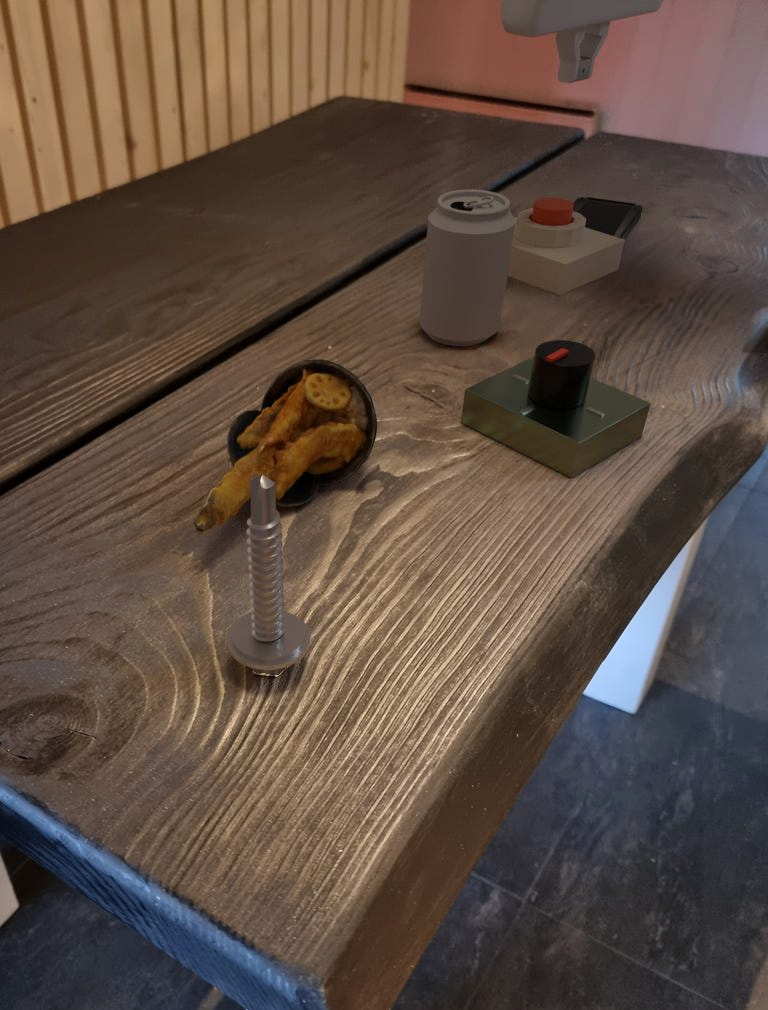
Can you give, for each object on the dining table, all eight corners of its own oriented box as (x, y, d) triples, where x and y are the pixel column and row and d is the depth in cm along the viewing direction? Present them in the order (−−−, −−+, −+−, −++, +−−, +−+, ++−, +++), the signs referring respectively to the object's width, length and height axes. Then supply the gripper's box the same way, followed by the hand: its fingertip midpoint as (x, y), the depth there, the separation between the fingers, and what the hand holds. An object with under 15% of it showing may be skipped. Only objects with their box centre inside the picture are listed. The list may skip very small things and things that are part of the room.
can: (411, 318, 90) (422, 186, 82) (487, 314, 90) (505, 183, 82) (426, 352, 84) (439, 214, 76) (507, 348, 85) (528, 210, 77)
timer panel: (641, 437, 73) (651, 400, 71) (571, 478, 69) (579, 441, 66) (531, 387, 79) (537, 352, 77) (460, 422, 75) (464, 387, 73)
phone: (644, 204, 109) (615, 245, 100) (642, 214, 110) (613, 256, 100) (578, 195, 112) (543, 234, 102) (576, 205, 113) (542, 245, 103)
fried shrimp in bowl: (417, 393, 69) (351, 435, 53) (344, 512, 74) (266, 583, 59) (315, 327, 70) (221, 350, 54) (251, 450, 75) (148, 503, 59)
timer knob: (550, 376, 74) (558, 331, 72) (597, 395, 72) (608, 348, 69) (516, 394, 72) (524, 348, 69) (564, 415, 70) (574, 367, 67)
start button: (578, 221, 96) (581, 204, 94) (554, 231, 94) (557, 213, 93) (547, 212, 98) (550, 194, 97) (523, 221, 96) (526, 203, 95)
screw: (303, 696, 52) (220, 687, 53) (315, 639, 56) (237, 631, 57) (302, 505, 44) (203, 497, 44) (317, 452, 47) (225, 445, 48)
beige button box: (618, 270, 98) (629, 221, 95) (559, 296, 93) (568, 245, 90) (528, 240, 105) (536, 193, 101) (469, 262, 100) (475, 214, 97)
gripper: (646, -117, 84) (611, 58, 94) (500, -103, 75) (477, 91, 84) (709, -113, 81) (665, 69, 90) (564, -98, 71) (532, 104, 81)
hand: (573, 80), depth 87 cm, fingers closed
